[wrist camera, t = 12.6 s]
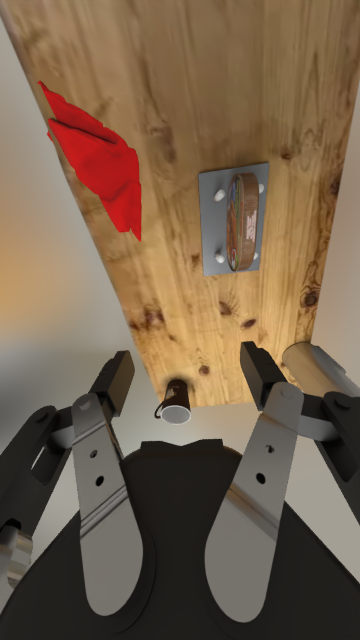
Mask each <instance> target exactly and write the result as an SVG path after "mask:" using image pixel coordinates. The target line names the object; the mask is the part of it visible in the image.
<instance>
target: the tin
mask: <svg viewBox="0 0 360 640" xmlns="http://www.w3.org/2000/svg"><path fill="white" fill-rule="evenodd" d="M258 209H259V184H258V180H257V177H256V176H255V174H254V173H251V172H248V173H241V174H239V173H236V174H234V176H233V177H232V179H231V182H230V186H229V190H228V196H227V259H228V264H229V267H230V269H231V270H232V271H233V272H236V271H242V270H246V269H248V268H249V267H250V266H251V264H252V262H253V259H254V255H255V247H256V236H257V223H258Z"/></svg>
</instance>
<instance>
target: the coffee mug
mask: <svg viewBox="0 0 360 640" xmlns="http://www.w3.org/2000/svg"><path fill="white" fill-rule="evenodd" d="M162 405H163V406H162ZM161 406H162V410H161V415H160V416H157V415H156V414H157V411H158V409H159V408H160V407H161ZM155 418H157V419H159V418H162V419H163V420H164V421H165V422H167V423H170V424H175V425H176V424H177V425H178V424H183V423H186V422H188V420H190V418H191V411H190V404H189V397H188V391H187V385H186V383H185V382H184V381H182V380H172V381H170V382H169V383H168V386H167V390H166V394H165V398H164V401H163V402H162V403H161V404H160V405H159V407H158V408H157V409H156V411H155Z"/></svg>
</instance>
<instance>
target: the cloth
mask: <svg viewBox="0 0 360 640" xmlns="http://www.w3.org/2000/svg"><path fill="white" fill-rule="evenodd" d="M38 84H40V85H41V87H42V89H43V92H44V94H45V96H46V98H47V100H48V102H49V104H50V106H51V108H52V110H53V113H54V115H55V117H56V119H57V121H58V122H57V121H55V120H53V119H48V122H49V126H50V128H51V130H52V132H53V133H54V135H55V137H56V138H57V140H58V142H59V144H60V146H61V148H62V150H63V152H64V154H65V155H66V157H67V159H68V161H69V163H70V165H71V166H72V167H73V168H74V169H75V172H76V175H77V177H78V178H79V180H80V181H81V182H82V183H83V184H85V185H86V186H87V187H88V188H89V189H90V190H91V191H92V192H94V193H95V194H98V195H99V197H100V199H101V201H102V203H103V205H104V207H105V209H106V211H107V213H108V215H109V217H110V219H111V220H112V222H113V224H114V225H115V227H116V229H117V230H118V231H119V232H129V231H130V228H131V230H132V232H133V233H134V235H135V236H136V237H137V239H138V240H139V242H140V241H141V208H142V206H141V184H140V182H139V162H138V157H137V154H136V151H135V149H133V148H130V147H128V146H127V144H126V142H125V141H124V140H123V139H122V138H121V137H120V136H119V135H118V134H116V133H115V132H114V131H112V130H110V129H109V128H107V127H103V123H101V122H99V121H98V120H96V119H95V118H93V117H92V116H90V115H89V114H88V113H86V112H84V111H83V110H81V109H80V108H78V107H77V106H74V105H72V104H69V103H67V102H66V101H65V99H64V98H63V97H62V96H60V95H58V94H56V93H54V92H51V91H49V89H48V88H47V87H46V86H45V85H44V84H43V83H42V82H41V81H39V82H38ZM47 135H48V137H49V138H50V140H51V141H52V138H51V136H50V133H49V131H48V132H47ZM52 142H53V141H52Z"/></svg>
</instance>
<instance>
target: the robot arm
mask: <svg viewBox="0 0 360 640" xmlns="http://www.w3.org/2000/svg"><path fill="white" fill-rule="evenodd" d="M282 360H283V363H284V364H285V366H286V367H287V368H288V370H289V371H290V373H291V374H292V376H293V377H294V378H295V380H296V381H297V382H298V384H299V385H300V387H301V388H302V389H303V391H304V392H305V393H302V391H301V390H300V389H299V388H298V387H296V386H295V385H293V384H291V383H288V381H287V380H286V378H285V377H284V375H283V374H282V372H281V371H280V369H279V368H278V366H277V365H276V363H275V361H274V360H273V359H272V357H271V355H270V354H269V352H267V351H266V350H264V349H263V348H257V346H256V345H255V343H254V342H253V341H247V342H241V350H240V364H241V368H242V371H243V373H244V376H245V378H246V381H247V383H248V386H249V388H250V391H251V393H252V396H253V399H254V401H255V404H256V406H257V409H258V411H263V412H262V414H260V416H259V418H258V420H257V422H256V425H255V427H254V430H253V432H252V435H251V437H250V440H249V442H248V444H247V447H246V449H245V452H244V454H243V455H242V454H240V453H239V452H237V451H236V450H234V449H232V448H229V447H227V446H223V442H222V439H203V440H199V441H196V442H193V443H190V444H187V445H183V446H178V445H174V444H171V443H167V442H163V441H142V443H141V447H140V449H138V450H136V451H134V452H132V453H130V454H129V455H127V456H126V457H125V458H124V456H123V453H122V451H121V448H120V446H119V443H118V440H117V437H116V435H115V432H114V429H113V427H112V424H111V420H112V418H113V417H119V416H120V414H121V411H122V408H123V405H124V402H125V399H126V396H127V393H128V391H129V388H130V385H131V382H132V379H133V376H134V372H135V369H134V364H133V361H132V357H131V355H130V352H129V351H128V350H126V351H118V352H117V353H116V355H115V357H114V358H113V359H110V360H109V361H108V362H107V363H106V364H105V365H104V367H103V368H102V371H101V372H100V373H99V376H98V377H97V379H96V380H95V382H94V384H93V385H92V387H91V389H90V391H89V392H88V393H87V394H84V395H82V396H81V397H79V398H78V399H77V400H76V401H75V402H74V403H73V405H72V406H70V407H67V408H64V409H61V410H58V411H57V409H56V408H55V407H54V406H51V405H50V406H46V407H43V408H41V409H39V410H37V411H36V412H35V413H33V414H32V415H31V416H30V417H29V419H28V420H27V421H26V422H25V424H24V425H23V426H22V428H21V429H20V430H19V432H18V433H17V434H16V436H15V437H14V438H13V439H12V441H11V442H10V443H9V445H8V446H7V447H6V449H5V450H4V451H3V453H2V454H1V455H0V640H360V584H359V582H358V581H357V580H356V579H355V578H354V576H353V575H352V574H351V573H350V572H349V571H348V570H347V569H346V568H345V566H344V565H343V564H342V563H341V562H340V561H339V560H338V559H337V558H336V557H335V555H334V554H333V553H332V552H331V551H330V550H329V549H328V548H327V547H326V545H325V544H324V543H323V542H322V541H321V540H320V539H319V538H318V537H317V536H316V535H315V533H314V532H313V531H312V530H311V529H310V528H309V527H308V526H307V525H306V523H305V522H304V521H303V520H302V519H301V518H300V517H299V516H298V515H297V513H296V512H295V511H294V510H293V509H292V508H291V507H290V506H289V505H288V504H287V502H286V501H285V500H284V498H285V494H286V489H287V484H288V479H289V474H290V469H291V464H292V460H293V455H294V450H295V445H296V440H297V435H300V436H303V437H307V438H311V439H313V440H314V442H315V443H316V445H317V447H318V449H319V451H320V453H321V455H322V456H323V458H324V460H325V462H326V464H327V466H328V468H329V469H330V471H331V473H332V475H333V477H334V479H335V481H336V482H337V484H338V486H339V488H340V490H341V492H342V494H343V495H344V497H345V499H346V501H347V503H348V504H349V507H350V508H351V510H352V512H353V514H354V516H355V518H356V519H357V521H358V523H359V525H360V388H359V387H358V386H357V385H356V384H355V383H353V382H352V381H351V380H350V379H349V378H348V377H347V376H346V375H345V373H346V371H345V369H344V368H342V367H341V366H340V365H339V364H338V363H337V362H336V361H334V360H333V359H332V358H331V357H330V356H329V355H328V354H327V353H326V352H324V351H323V350H322V349H321V348H320V347H319V346H314V345H312V344H310V343H297V344H295V345H293V346H291V347H289V348H288V349H287V350H286V351H285V352H284V354H283V356H282ZM42 447H44V450H43V451H42V453H41V455H40V457H39V459H38V460H37V462H36V464H35V465H34V467H33V469H32V470H31V468H32V465H33V463H34V461H35V459H36V458H37V456H38V454H39V453H40V451H41V449H42ZM71 450H72V451H73V458H74V467H75V475H76V483H77V491H78V499H79V506H80V509H79V511H78V512H77V513H76V514H75V515H74V516H73V518H72V519H71V520H70V521H69V523H68V524H67V525H66V526H65V527H64V528H63V529H62V531H61V532H60V533H59V534H58V535H57V536H56V538H55V539H54V540H53V541H52V542H51V544H50V545H49V546H48V547H47V548H46V549H45V550H44V552H43V553H42V554H41V555H40V556H39V558H38V559H37V560H36V561H35V562H34V563H33V565H32V566H31V567H30V565H31V554H32V549H33V540H32V536H33V533H34V531H35V529H36V527H37V525H38V522H39V520H40V518H41V516H42V514H43V512H44V509H45V507H46V505H47V503H48V501H49V498H50V496H51V494H52V492H53V490H54V488H55V485H56V483H57V481H58V479H59V477H60V475H61V472H62V470H63V468H64V466H65V464H66V461H67V459H68V457H69V455H70V453H71ZM29 567H30V568H29Z"/></svg>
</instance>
